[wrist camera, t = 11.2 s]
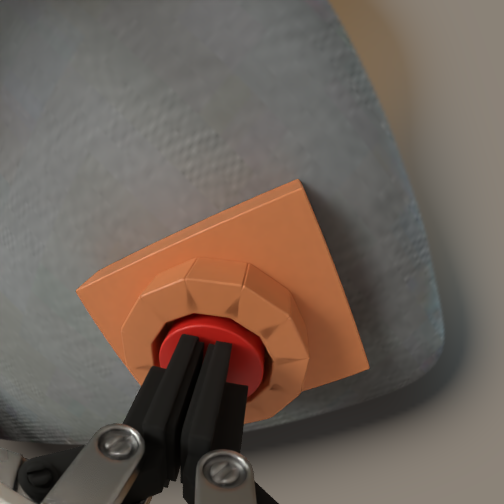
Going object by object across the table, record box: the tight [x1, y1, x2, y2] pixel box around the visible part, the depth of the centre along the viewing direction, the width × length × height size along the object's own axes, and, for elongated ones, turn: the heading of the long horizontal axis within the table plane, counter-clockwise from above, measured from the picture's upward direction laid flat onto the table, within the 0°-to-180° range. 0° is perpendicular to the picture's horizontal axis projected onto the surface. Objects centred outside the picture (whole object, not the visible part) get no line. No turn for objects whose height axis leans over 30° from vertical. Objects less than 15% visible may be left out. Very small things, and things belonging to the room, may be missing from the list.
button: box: [159, 313, 265, 397], centre depth 11 cm, size 4×4×2 cm
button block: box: [76, 179, 370, 424], centre depth 12 cm, size 10×8×4 cm
